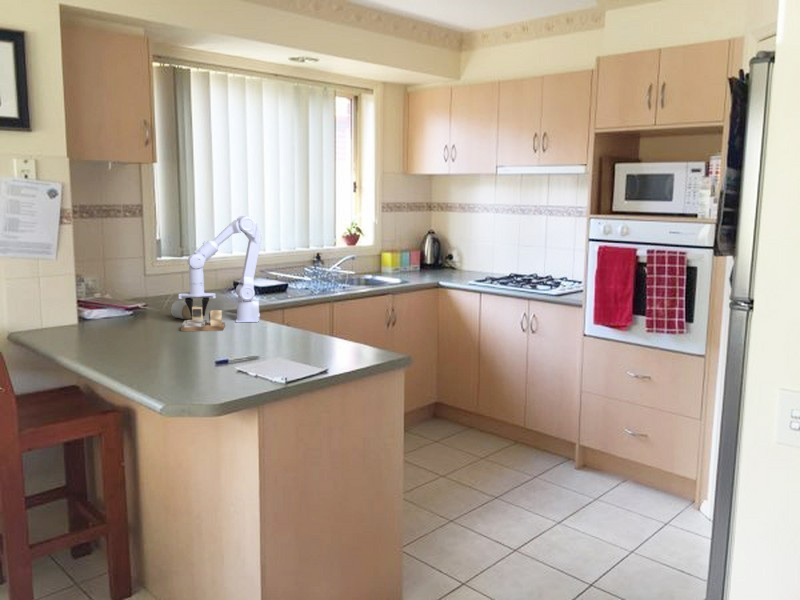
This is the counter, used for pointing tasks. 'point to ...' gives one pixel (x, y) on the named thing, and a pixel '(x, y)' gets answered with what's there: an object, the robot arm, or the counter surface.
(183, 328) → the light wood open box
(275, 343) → the counter surface
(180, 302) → the ceramic mug
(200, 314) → the tan square block
